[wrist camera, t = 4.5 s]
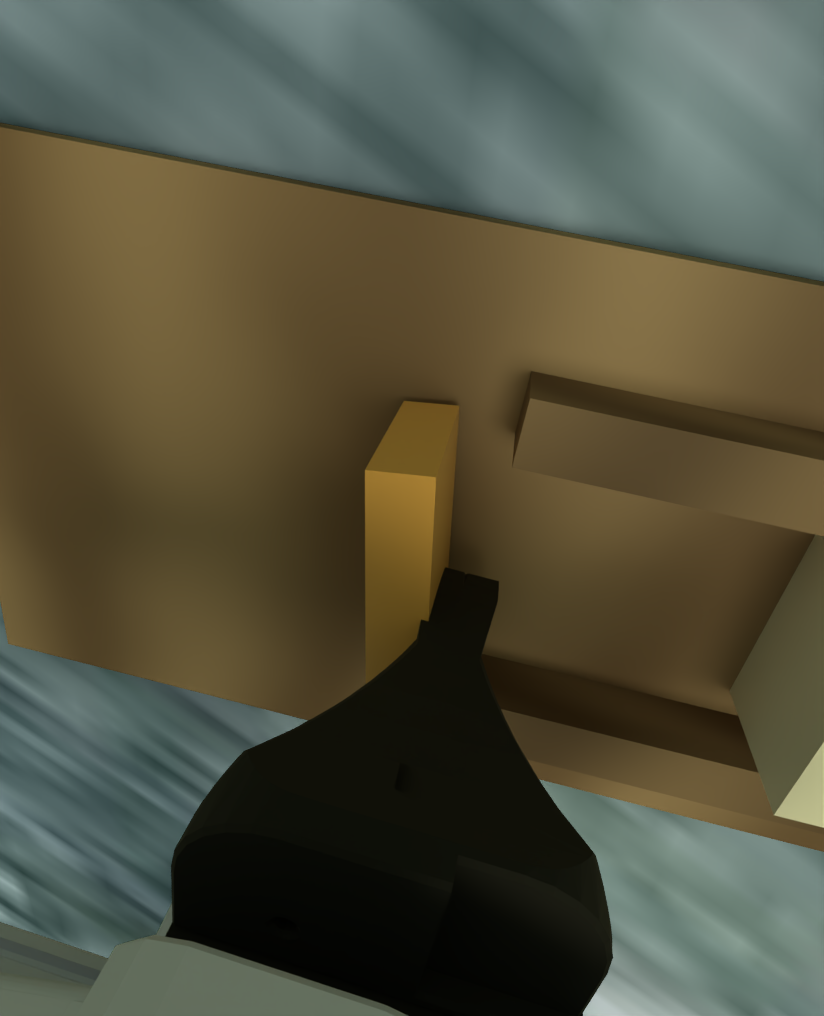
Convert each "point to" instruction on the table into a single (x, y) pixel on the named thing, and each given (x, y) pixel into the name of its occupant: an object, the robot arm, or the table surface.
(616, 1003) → the table surface
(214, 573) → the cradle
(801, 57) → the table surface
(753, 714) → the plug
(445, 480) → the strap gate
